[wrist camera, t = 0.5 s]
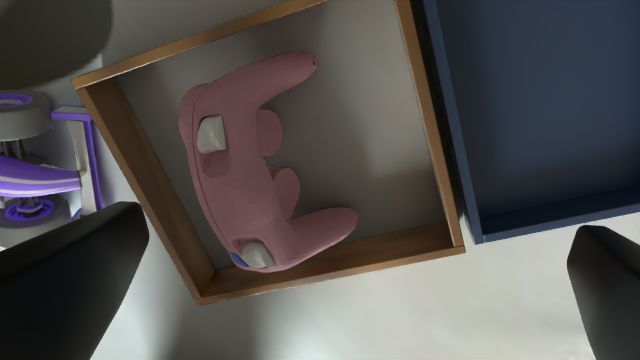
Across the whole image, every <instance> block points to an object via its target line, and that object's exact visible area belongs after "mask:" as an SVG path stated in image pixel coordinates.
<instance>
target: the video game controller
mask: <svg viewBox="0 0 640 360" xmlns="http://www.w3.org/2000/svg"><path fill="white" fill-rule="evenodd" d="M317 66H318V59H317V57H316V56H314V55H312V54H309V53H304V52H293V53H286V54H281V55H277V56H273V57H270V58H267V59H264V60H261V61H258V62H254V63H251V64H248V65H246V66H244V67H241V68H239V69H237V70H235V71H233V72H231V73H229V74H227V75H225V76H223V77H221V78H219V79H217V80H215V81H213V82H211V83H206V84H201V85H198V86H196V87H194V88H192V89H190V90H189V91H188V92H187V93H186V95H185V96H184V98H183V100H182V102H181V106H180V110H179V130H180V134H181V137H182V139H183V141H184V143H185V144H186V146H187V155H188V162H189V167H190V172H191V177H192V181H193V184H194V187H195V191H196V194H197V197H198V199H199V202H200V205H201V207H202V210H203V212H204V214H205V216H206V218H207V220H208V222H209V224H210V226H211V228H212V229H213V231H214V233H215V234H216V236H217V237H218V239H219V240H220V242H221V243H222V245H223V246H224V247H225V248H226V249H227V250H228V252H229V256H230V257H231V259H232V261H233V262H234V263H235V264H236V265H237V266H238V267H240V268H242V269H244V270H251V271H258V272H275V271H281V270H285V269H288V268H290V267H293V266H295V265H297V264H298V263H300V262H302V261H304V260H306V259H308V258H309V257H311V256H313V255H315V254H317V253H319V252H320V251H322V250H324V249H326V248H328V247H330V246H332V245H334V244H336V243H338V242H339V241H341V240H342V239H344V238H345V237H347V236H348V235H349V234H350V233H351V232H352V231H353V230H354V229H355V227H356V226H357V224H358V219H359V217H358V214H357V213H356V212H355V211H354V210H352V209H349V208H341V207H336V208H328V209H323V210H319V211H316V212H313V213H309V214H306V215H303V216H300V217H297V218H294V219H292V213H293V210H294V208H295V206H296V204H297V202H298V199H299V196H300V182H299V179H298V177H297V175H296V174H295V172H294V171H293V170H291V169H289V168H267V166H266V163H265V161H264V158H263V156H265V157H267V156H271V155H273V154H275V153H276V152H277V151H278V150H279V148H280V146H281V144H282V136H283V131H282V125H281V122H280V119H279V117H278V116H277V114H276V113H274V112H273V111H271V110H267V109H260V107H261V106H262V105H263V104H264V103H266V102H267V101H269V100H270V99H272V98H273V97H275V96H276V95H278V94H280V93H282V92H284V91H286V90H288V89H290V88H292V87H294V86H296V85H297V84H299V83H301V82H303V81H305V80H306V79H307V78H308V77H309V76H310V75H311V74H313V72H314V71H315V70H316V68H317Z"/></svg>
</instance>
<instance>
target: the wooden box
mask: <svg viewBox="0 0 640 360" xmlns="http://www.w3.org/2000/svg"><path fill="white" fill-rule="evenodd" d="M325 1H328V0H287V1H284V2H282V3H279V4H276V5H273V6H271V7H268V8H265V9H262V10H260V11H257V12H254V13H251V14H249V15H246V16H243V17H240V18H237V19H235V20H232V21H229V22H226V23H224V24H221V25H218V26H215V27H213V28H210V29H207V30H204V31H202V32H199V33H196V34H193V35H191V36H188V37H185V38H182V39H179V40H177V41H174V42H171V43H168V44H166V45H163V46H160V47H157V48H155V49H152V50H149V51H146V52H144V53H141V54H138V55H135V56H133V57H130V58H127V59H124V60H121V61H119V62H116V63H113V64H110V65H108V66H105V67H102V68H99V69H97V70H94V71H91V72H88V73H86V74H83V75H80V76H77V77H75V78H72V79H71V82H72V83H73V85H74V87H75V89H77V90H76V91H77V93H78V94H79V96H80V98H81V100H82V101H83V103H84V105H85V107H86V109H87V110H88V112H89V114H90V116H91V117H92V119H93V121H94V123H95V124H96V126H97V128H98V130H99V132H100V133H101V135H102V137H103V139H104V140H105V142H106V144H107V146H108V148H109V149H110V151H111V153H112V155H113V156H114V158H115V160H116V162H117V163H118V165H119V167H120V169H121V171H122V172H123V174H124V176H125V178H126V179H127V181H128V183H129V185H130V187H131V188H132V190H133V192H134V194H135V195H136V197H137V199H138V201H139V202H140V204H141V206H142V208H143V210H144V211H145V213H146V215H147V217H148V218H149V220H150V222H151V224H152V226H153V227H154V229H155V231H156V233H157V234H158V236H159V238H160V240H161V241H162V243H163V245H164V247H165V249H166V250H167V252H168V254H169V256H170V257H171V259H172V261H173V263H174V264H175V266H176V268H177V270H178V272H179V273H180V275H181V277H182V279H183V280H184V282H185V284H186V286H187V288H188V289H189V291H190V293H191V295H192V296H193V298H194V299H195V302H196V303H197V305H198V306H199V305H205V304H210V303H215V302H220V301H225V300H230V299H235V298H240V297H245V296H250V295H255V294H260V293H265V292H270V291H276V290H281V289H286V288H291V287H296V286H301V285H306V284H311V283H316V282H321V281H326V280H331V279H336V278H341V277H346V276H352V275H357V274H362V273H367V272H372V271H377V270H382V269H387V268H392V267H397V266H402V265H407V264H412V263H417V262H423V261H428V260H433V259H438V258H443V257H448V256H453V255H458V254H463V253H466V250H465V246H464V241H463V237H462V232H461V228H460V223H459V219H458V215H457V210H456V206H455V201H454V197H453V192H452V188H451V183H450V179H449V174H448V170H447V165H446V161H445V156H444V152H443V147H442V143H441V138H440V134H439V129H438V125H437V121H436V116H435V112H434V107H433V103H432V98H431V94H430V89H429V85H428V80H427V76H426V71H425V67H424V62H423V58H422V53H421V49H420V44H419V40H418V35H417V31H416V26H415V22H414V18H413V13H412V9H411V4H410V0H393V1H394V6H395V10H396V14H397V18H398V22H399V27H400V31H401V35H402V39H403V43H404V48H405V52H406V56H407V60H408V64H409V69H410V73H411V77H412V81H413V85H414V90H415V94H416V98H417V102H418V106H419V111H420V115H421V119H422V123H423V128H424V132H425V136H426V140H427V144H428V149H429V153H430V157H431V161H432V165H433V170H434V174H435V178H436V182H437V186H438V191H439V195H440V199H441V203H442V207H443V212H444V216H445V220H446V221H444V222H439V223H435V224H430V225H425V226H421V227H416V228H411V229H407V230H402V231H398V232H393V233H388V234H384V235H379V236H374V237H370V238H365V239H361V240H356V241H351V242H347V243H342V244H337V245H333V246H330V247H328V248H326V249H324V250H322V251H320V252H319V253H317V254H315V255H313V256H311V257H309V258H308V259H306V260H304V261H302V262H300V263H298V264H297V265H295V266H293V267H290V268H288V269H285V270H281V271H275V272H258V271H251V270H244V269H242V268H240V267H238V266H236V267H231V268H226V269H222V270H217V271H215V268H214V266H213V264H212V262H211V261H210V259H209V257H208V255H207V253H206V251H205V249H204V247H203V245H202V243H201V241H200V239H199V237H198V236H197V234H196V232H195V230H194V228H193V226H192V224H191V222H190V220H189V218H188V216H187V214H186V212H185V211H184V209H183V207H182V205H181V203H180V201H179V199H178V197H177V195H176V193H175V191H174V189H173V187H172V186H171V184H170V182H169V180H168V178H167V176H166V174H165V172H164V170H163V168H162V166H161V164H160V162H159V161H158V159H157V157H156V155H155V153H154V151H153V149H152V147H151V145H150V143H149V141H148V139H147V138H146V136H145V134H144V132H143V130H142V128H141V126H140V124H139V122H138V120H137V118H136V116H135V114H134V113H133V111H132V109H131V107H130V105H129V103H128V101H127V99H126V97H125V95H124V93H123V91H122V89H121V88H120V86H119V84H118V82H117V80H116V78H115V76H116V75H119V74H122V73H125V72H127V71H130V70H133V69H136V68H139V67H142V66H144V65H147V64H150V63H153V62H156V61H159V60H161V59H164V58H167V57H170V56H173V55H176V54H178V53H181V52H184V51H187V50H190V49H193V48H195V47H198V46H201V45H204V44H207V43H209V42H212V41H215V40H218V39H221V38H224V37H226V36H229V35H232V34H235V33H238V32H241V31H243V30H246V29H249V28H252V27H255V26H258V25H260V24H263V23H266V22H269V21H272V20H275V19H277V18H280V17H283V16H286V15H289V14H291V13H294V12H297V11H300V10H303V9H306V8H308V7H311V6H314V5H317V4H320V3H323V2H325Z"/></svg>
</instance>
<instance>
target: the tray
mask: <svg viewBox="0 0 640 360" xmlns="http://www.w3.org/2000/svg"><path fill="white" fill-rule="evenodd" d="M418 3H419V8H420V13H421V17H422V22H423V27H424V31H425V36H426V41H427V45H428V50H429V54H430V59H431V64H432V68H433V73H434V78H435V82H436V87H437V91H438V96H439V101H440V105H441V110H442V115H443V119H444V124H445V128H446V133H447V138H448V142H449V147H450V152H451V156H452V161H453V165H454V170H455V175H456V179H457V184H458V189H459V193H460V198H461V202H462V207H463V212H464V216H465V221H466V225H467V227H468V230H469V232H470V235H471V238H472V240H473V243H474V244H475V245H477V244H482V243H484V242H485V243H487V242H492V241H497V240H502V239H507V238H512V237H516V236H521V235H526V234H531V233H536V232H541V231H546V230H551V229H556V228H561V227H566V226H571V225H576V224H581V223H586V222H591V221H596V220H601V219H606V218H611V217H616V216H621V215H626V214H631V213H636V212H640V0H418Z"/></svg>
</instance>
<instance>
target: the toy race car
mask: <svg viewBox="0 0 640 360" xmlns="http://www.w3.org/2000/svg"><path fill="white" fill-rule="evenodd" d="M53 119H63V120H65V121H66V124H67V127H68V130H69V133H70V136H71V139H72V142H73V146H74V152H75V158H76V164H77V170H69V169H64V168H59V167H54V166H53V165H52V163H51V162H50V160H49V159H48V158H46V157H43V156H40V155H36V154H33V153H29V152H28V149H27V145H26V142H25V138H30V137H34V136H37V135H40V134H43V133H45V132H47V131H49V130H50V129H51V128H52V127H53V126H54V121H53ZM91 120H92V117H91V116H90V114H89V112H88V110H87V109H86V107H78V106H69V105H60V106H59V107H57V108H56V109H54V110H53V111H52V110H51V105H50V100H49V97H48V96H46V95H45V94H42V93H39V92H34V91H27V90H0V246H2V247H4V248H7V249H8V248H10V247H12V246H15V245H17V244H19V243H22V242H24V241H27V240H29V239H31V238H34V237H36V236H38V235H41V234H43V233H46V232H48V231H50V230H53V229H55V228H58V227H60V226H62V225H65V224H67V223H69V222H72V221H74V220H77V219H79V218H81V217H84V216H86V215H89V214H91V213H93V212H96V211H98V210H100V209H103V206H102V199H101V192H100V185H99V178H98V172H97V165H96V158H95V151H94V144H93V137H92V130H91V124H90V121H91ZM19 139H21V141H22V144H23V147H24V150H25V151H21V150H20V144H19ZM79 189H81V194H82V208H80V209H79V210H78V211H77V212H76V213H75V215H74V216H73V217H71V212H70V207H69V203H68V201H67V200H66V199H65V198H63V197H61V196H58V195H54V193H60V192H66V191H73V190H79ZM4 201H5V202H4Z"/></svg>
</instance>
